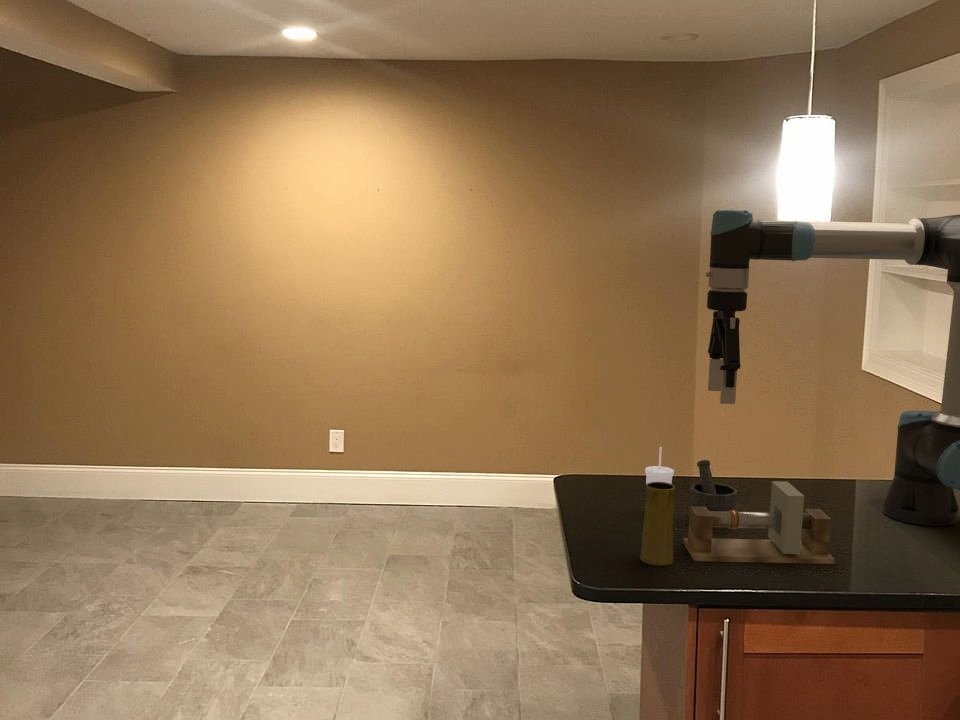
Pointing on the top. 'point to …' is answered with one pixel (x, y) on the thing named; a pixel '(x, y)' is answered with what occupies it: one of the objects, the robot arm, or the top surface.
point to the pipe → (753, 519)
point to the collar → (787, 517)
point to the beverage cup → (659, 472)
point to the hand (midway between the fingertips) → (720, 397)
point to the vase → (658, 524)
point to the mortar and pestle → (711, 491)
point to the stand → (756, 542)
